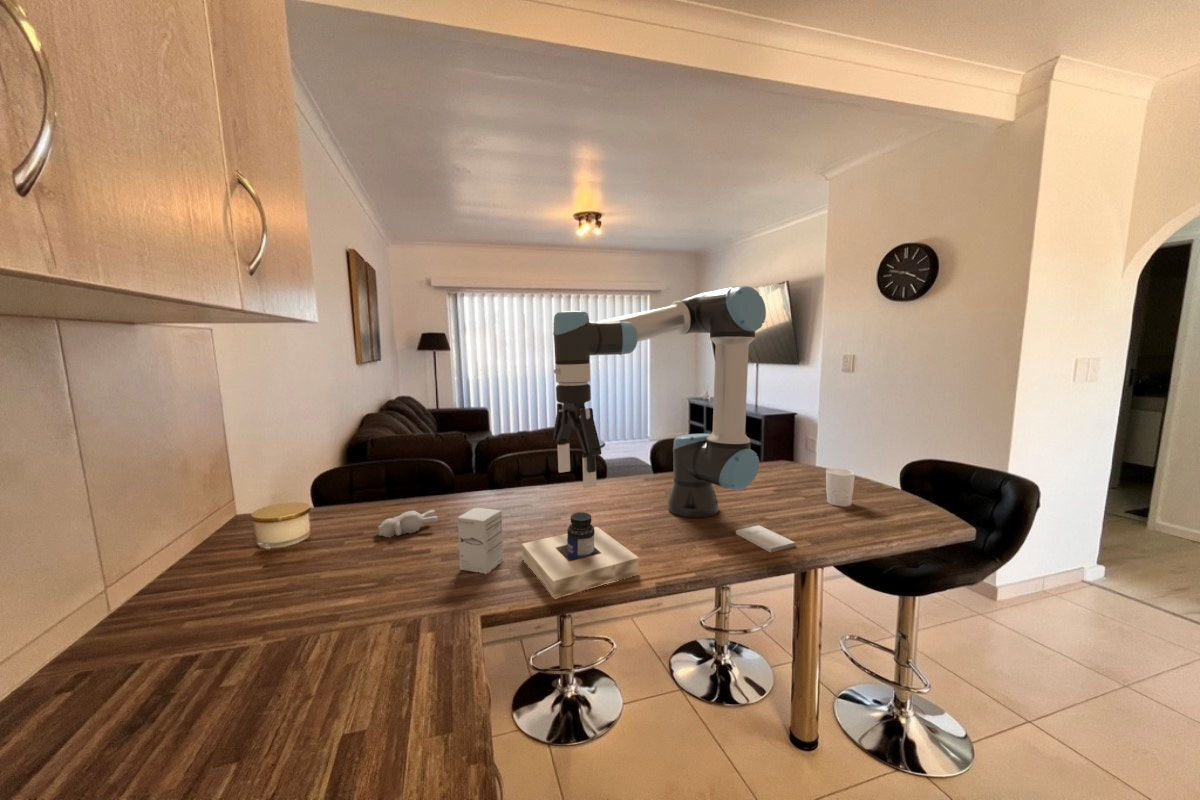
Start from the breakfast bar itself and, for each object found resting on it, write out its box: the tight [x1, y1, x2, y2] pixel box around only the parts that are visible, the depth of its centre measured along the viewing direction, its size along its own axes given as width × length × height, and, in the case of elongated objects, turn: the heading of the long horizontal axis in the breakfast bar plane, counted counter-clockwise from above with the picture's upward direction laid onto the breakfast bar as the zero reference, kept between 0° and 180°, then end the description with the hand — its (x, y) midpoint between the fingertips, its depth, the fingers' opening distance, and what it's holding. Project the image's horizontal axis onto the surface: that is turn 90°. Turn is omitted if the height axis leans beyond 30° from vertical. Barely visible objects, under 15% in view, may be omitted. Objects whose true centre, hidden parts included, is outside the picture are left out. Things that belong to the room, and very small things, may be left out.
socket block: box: [521, 526, 640, 599], centre depth 103 cm, size 20×20×4 cm
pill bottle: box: [566, 511, 595, 562], centre depth 102 cm, size 6×6×11 cm
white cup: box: [825, 467, 856, 507], centre depth 140 cm, size 8×8×10 cm
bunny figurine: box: [377, 509, 439, 538], centre depth 126 cm, size 10×5×15 cm
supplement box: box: [457, 507, 504, 575], centre depth 104 cm, size 7×7×13 cm
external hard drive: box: [735, 524, 797, 554], centre depth 116 cm, size 2×8×12 cm
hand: (576, 478), depth 101 cm, fingers open, 13 cm apart
